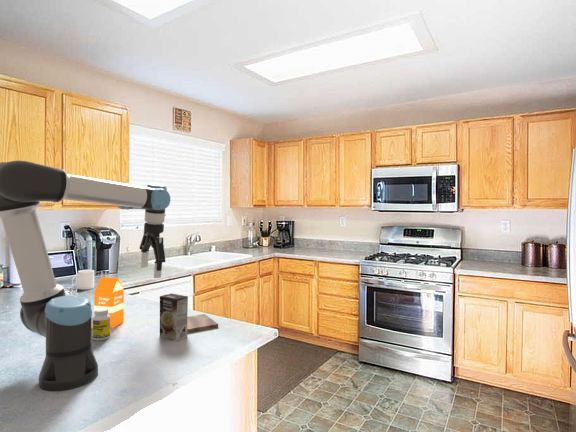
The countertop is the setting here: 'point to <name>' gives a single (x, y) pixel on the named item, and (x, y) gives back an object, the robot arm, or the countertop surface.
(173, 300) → the coffee box
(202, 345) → the countertop surface
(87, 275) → the mug
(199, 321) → the walnut board
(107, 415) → the countertop surface
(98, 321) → the pill bottle
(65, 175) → the robot arm
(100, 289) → the orange juice
